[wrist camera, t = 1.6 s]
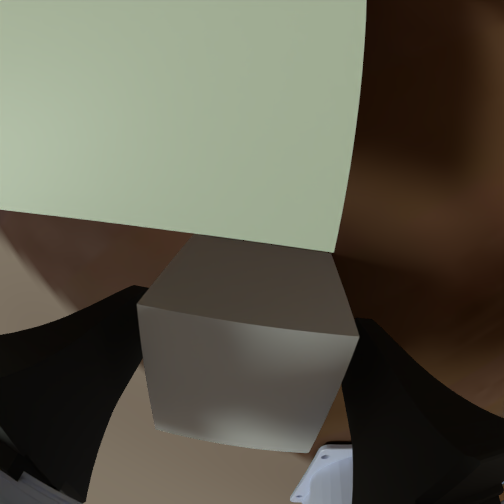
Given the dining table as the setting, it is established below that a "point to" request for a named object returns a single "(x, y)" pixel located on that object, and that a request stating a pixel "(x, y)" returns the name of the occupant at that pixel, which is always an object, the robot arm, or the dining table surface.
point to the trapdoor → (183, 113)
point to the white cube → (246, 343)
